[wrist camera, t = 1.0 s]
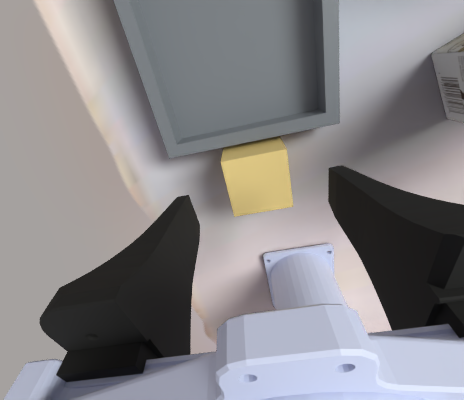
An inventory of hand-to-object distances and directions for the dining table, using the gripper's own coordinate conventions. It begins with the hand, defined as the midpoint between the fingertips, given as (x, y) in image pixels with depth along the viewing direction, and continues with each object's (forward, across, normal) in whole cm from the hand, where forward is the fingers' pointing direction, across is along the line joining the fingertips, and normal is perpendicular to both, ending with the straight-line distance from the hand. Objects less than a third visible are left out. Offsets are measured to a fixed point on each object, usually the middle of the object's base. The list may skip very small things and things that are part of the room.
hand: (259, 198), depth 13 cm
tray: (+12, 0, -6) cm, 14 cm away
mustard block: (+11, 0, +4) cm, 12 cm away
